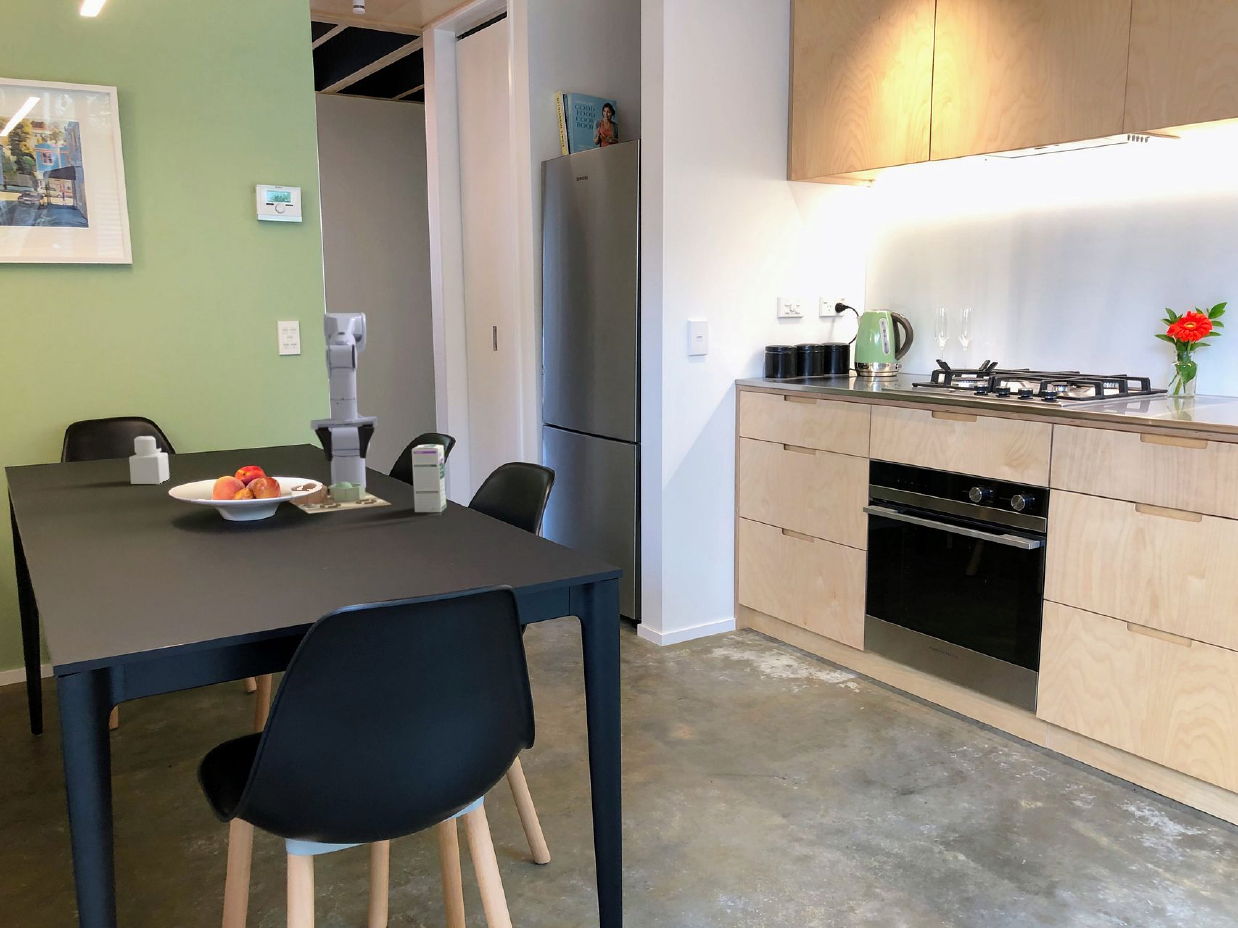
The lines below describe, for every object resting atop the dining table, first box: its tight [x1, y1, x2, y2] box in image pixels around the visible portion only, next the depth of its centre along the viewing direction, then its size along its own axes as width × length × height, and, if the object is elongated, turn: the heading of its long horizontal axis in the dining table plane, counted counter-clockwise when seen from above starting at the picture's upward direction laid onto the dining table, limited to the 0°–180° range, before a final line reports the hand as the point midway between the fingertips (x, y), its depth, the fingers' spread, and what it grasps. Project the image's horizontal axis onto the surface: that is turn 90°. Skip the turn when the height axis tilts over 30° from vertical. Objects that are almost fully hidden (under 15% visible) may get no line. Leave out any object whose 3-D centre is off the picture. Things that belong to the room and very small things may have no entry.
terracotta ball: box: [302, 482, 318, 490], centre depth 217 cm, size 4×4×4 cm
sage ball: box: [335, 481, 352, 488], centre depth 219 cm, size 4×4×4 cm
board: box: [288, 491, 392, 514], centre depth 216 cm, size 18×18×1 cm
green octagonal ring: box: [329, 483, 366, 502], centre depth 220 cm, size 7×7×3 cm
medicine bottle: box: [128, 434, 170, 485], centre depth 246 cm, size 7×7×12 cm
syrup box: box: [411, 443, 447, 516], centre depth 206 cm, size 6×6×14 cm
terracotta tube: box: [290, 484, 329, 504], centre depth 217 cm, size 7×7×3 cm
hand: (346, 459), depth 218 cm, fingers open, 7 cm apart
